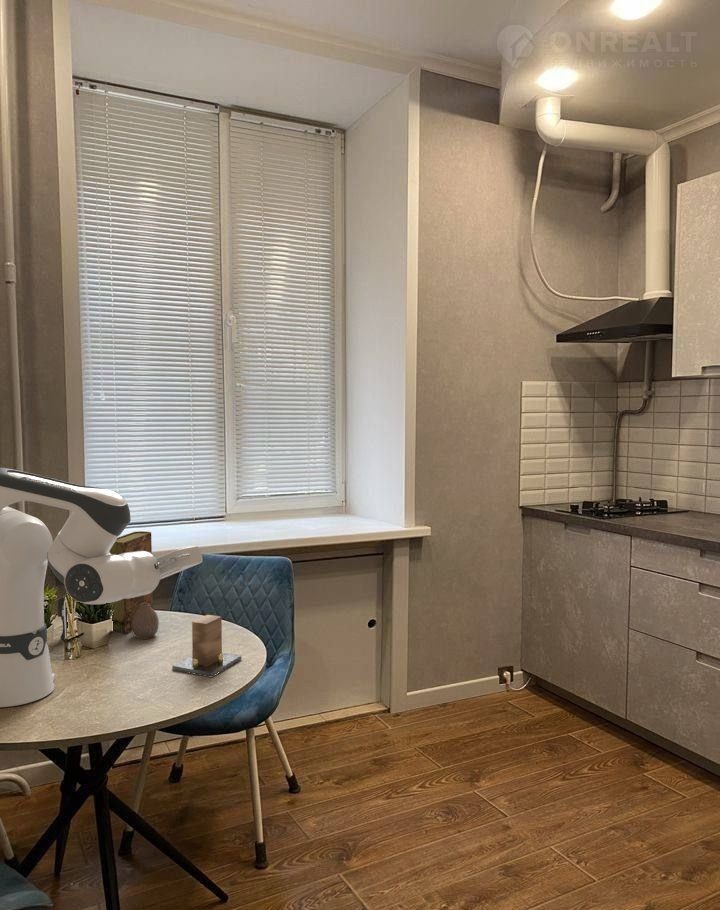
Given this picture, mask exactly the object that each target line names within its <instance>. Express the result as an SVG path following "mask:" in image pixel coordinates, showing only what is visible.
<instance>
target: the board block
mask: <svg viewBox="0 0 720 910" xmlns="http://www.w3.org/2000/svg"><path fill="white" fill-rule="evenodd" d="M222 621H223V620H222V616H220V615H213V614H206V615H203V616H202V617H199V618H197V619H195V620H193V621H191V636H192V637H191V639H192V640H191V641H192V642H191V643H192V648H191V649H192V650H193V658H198V665H203V666H208V665H210V664H212V663H213V662H215V661H217V660H218V654H222V651H223V643H222V641H223V638H222V637H223V636H222V635H223V634H222V632H223V631H222V630H223V627H222V625H223V623H222Z"/></svg>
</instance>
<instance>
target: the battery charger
mask: <svg viewBox="0 0 720 910" xmlns="http://www.w3.org/2000/svg"><path fill="white" fill-rule="evenodd" d="M66 595H67V594H64V595H62V596H60V597H59V598H58V600H57V606H56V607H57V609H56V610H57V611H56V613H57V617H59V618H60V619H61V621H62V633H61V635H60V639H61V640H64V641H66V640H65V638H66V636H67V628H68V622H67V608H66V603H65V596H66Z"/></svg>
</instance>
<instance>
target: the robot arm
mask: <svg viewBox="0 0 720 910" xmlns="http://www.w3.org/2000/svg"><path fill="white" fill-rule="evenodd" d="M20 502H32V503H37V504H40V505H46V506H50V507H55V508H59V509H63V510H69V511H71V512H70V514H69V516H68V518H67V520H66V521H65V523H63V526H62V528H61V529H60V531H59V532H58V534H56V535H57V536H56V537H55V538H54V540H53V536H52V534H51V531H50V530H49V528H48V526H47V525H46V524H45V523H44V522H43V521H42V520H41V519H39V518H38V517H35V516H32V515H30V514H28V513H26V512H23V511H20V510H17V509H15V508H13V507H10V505H12V504H16V503H20ZM130 522H131V511H130V507H129V504H128V502H127V500H126V498H125V497H123V496H122V495H121V494H119V493H117V492H116V491H114V490H111V489H107V488H103V487H96V486H89V485H88V486H87V485H82V484H76V483H73V482H69V481H64V480H61V479H60V480H59V479H56V478H51V477H49V476H48V477H47V476H43V475H41V474H37V473H36V474H35V473H31V472H27V471H21V470H19V469H18V470H17V469H13V468H7V467H0V708H7V707H15V706H20V705H21V706H22V705H25V704H29V703H32V702H35V701H38V700H40V699H43V698H45V697H46V696H48V695H50V694H51V693H52V692H54V689H55V684H54V681H55V679H56V676H55V673H54V672H52V666H51V665H52V664H51V657H50V656H51V655H50V650H49V649H50V648H49V646H48V644H47V641H48V629H47V624H46V623H45V613H44V612H45V603H44V602H45V600H44V597H45V596H44V593H45V592H44V590H45V589H44V588H45V580H46V576H47V575H46V574H47V568H48V566H49V568H50V570H51V571H52V573H53V575H54V577H56V579H57V580H59V581H60V582H61V583H62V584H63V585H64V588H65V591H66V594H69V595H70V597H72V598H73V599H74V600H75V601H77V602H80V603H84V605H86V604H87V605H106V603H112V602H116V601H119V600H122V599H123V598H124V599H129V598H134V597H139V596H143V595H147V594H149V593H151V592H152V593H153V592H154V591H155V590H156V588H157V587H158V586H159V583H160V581H161V580H163V579H165V578H168V577H170V576H173V575H175V574H178V573H181V572H182V571H185V570H187V569H190V568H192V567H195V566H197V565H200V564H201V563H203V559H204V558H203V554H202V552H201V549H200V547H199V546H198V545H194V546H187V547H184V548H179V549H175V550H173V551H170V552H168V553H165V554H163V555H160V556H157V557H156V556H154V555H153V553H152V554H150V553H149V552H146V551H136V552H128V553H122V554H119V555H112V554H110V553H109V551H110V549H111V548H112V546H113V544H114V543H115V541H116V539H117V538H118V537H120V536H121V534H122V533H123V532H124V531H125V529H126V528H127V526H128V525H129V524H130Z"/></svg>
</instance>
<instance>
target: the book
mask: <svg viewBox="0 0 720 910" xmlns="http://www.w3.org/2000/svg"><path fill="white" fill-rule="evenodd" d="M136 551H146V552H149V553H150V554H152V555H153V553H152V552H153V548H152V532H151V531H142V530H141V531H132V532H129V533H126V534H124V535H119V536H118V538H117V539H116V541H115V543H114V544H113V546H112V548H111V549H110V551H109V553H110V554H112V555H119V554H122V553H128V552H136ZM142 603H149V604H150V606H151V608H152V609H153V591H152V592H151V593H149V594H147V595H143V596H139V597H134V598H129V599H124V598H123V599H122V600H119V601H116V602H115V605H114V612H113V615H112V621H113V632H112V633H121V634H122V633H123V634H125V635H126V634H129V633H132V632H133V631H132V618H133V616H134V614H135V612H136V611H137V610H138V608H139V606H140V604H142ZM153 610H154V609H153Z"/></svg>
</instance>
